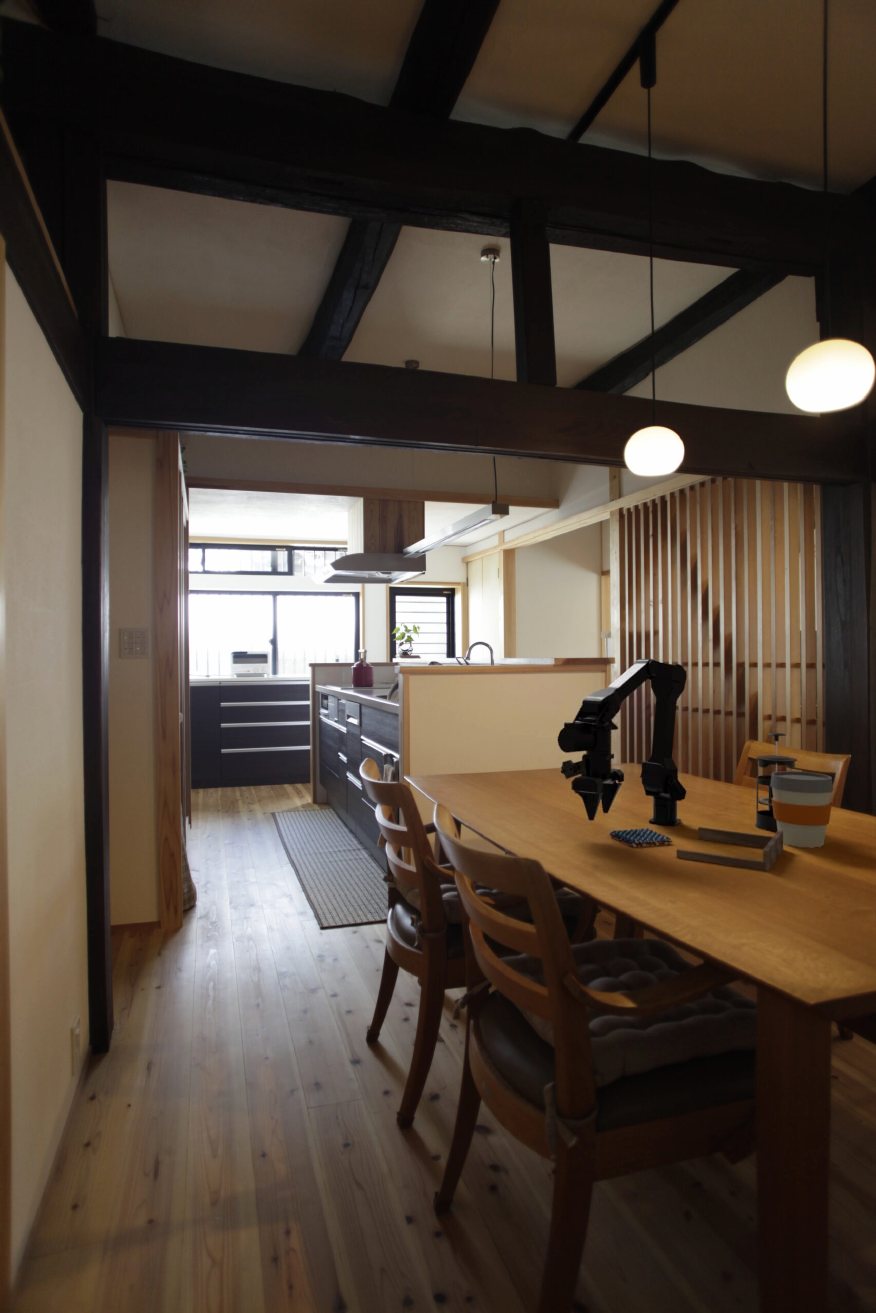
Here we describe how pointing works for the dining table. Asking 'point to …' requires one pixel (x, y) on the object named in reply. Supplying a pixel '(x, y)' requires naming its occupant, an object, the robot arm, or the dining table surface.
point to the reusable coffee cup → (802, 806)
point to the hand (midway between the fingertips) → (598, 816)
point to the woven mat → (640, 837)
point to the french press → (767, 816)
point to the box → (769, 843)
